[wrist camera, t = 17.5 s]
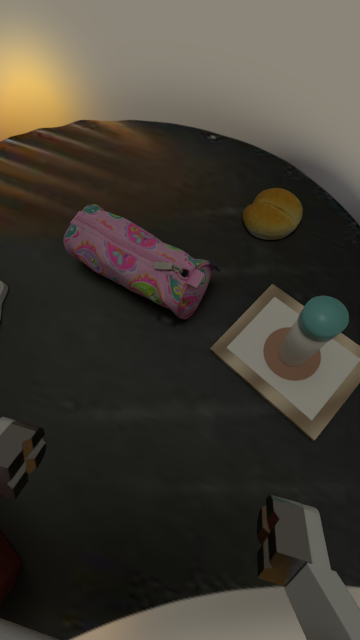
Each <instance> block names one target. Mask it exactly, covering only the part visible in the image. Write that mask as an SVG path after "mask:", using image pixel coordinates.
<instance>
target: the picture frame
mask: <svg viewBox="0 0 360 640" xmlns="http://www.w3.org/2000/svg"><path fill="white" fill-rule="evenodd" d="M303 308H304V306H303V305H301V304H300V303H299V302H297V301H296V300H294V299H293V298H292V297H290V296H289V295H287V294H286V293H284V292H283V291H282V290H280V289H279V288H277V287H276V286H275V285H273V284H272V285H271V286H270V287H269V288H268V289H267V290H266V291H265V292H264V293H263V294H262V295H261V296H260V297H259V298H258V299H257V300H256V301H255V303H254V304H253V305H252V306H251V307H250V308H249V309H248V310H247V311H246V312H245V313H244V314H243V315H242V316H241V317H240V318H239V319H238V320H237V321H236V322H235V323H234V324H233V325H232V326H231V327H230V328H229V330H228V331H227V332H226V333H225V334H224V335H223V336H222V337H221V338H220V339H219V340H218V341H217V342H216V343H215V344H214V345H213V346H212V347H211V348H210V351H211V352H212V353H213V354H215V355H216V356H217V357H218V358H219V359H220V360H221V361H223V362H224V363H225V364H226V365H227V366H228V367H229V368H230V369H232V370H233V371H234V372H235V373H236V374H237V375H238V376H240V377H241V378H242V379H243V380H244V381H245V382H246V383H247V384H249V385H250V386H251V387H252V388H253V389H254V390H255V391H256V392H258V393H259V394H260V395H261V396H262V397H263V398H264V399H266V400H267V401H268V402H269V403H270V404H271V405H272V406H273V407H275V408H276V409H277V410H278V411H279V412H280V413H281V414H283V415H284V416H285V417H286V418H287V419H288V420H289V421H290V422H292V423H293V424H294V425H295V426H296V427H297V428H298V429H299V430H301V431H302V432H303V433H304V434H305V435H306V436H307V437H309V438H310V439H311V440H315V439H316V438H317V437H318V435H319V434H320V433H321V432H322V430H323V429H324V428H325V426H326V425H327V424H328V423H329V421H330V420H331V419H332V418H333V416H334V415H335V414H336V412H337V411H338V410H339V409H340V407H341V406H342V405H343V403H344V402H345V401H346V400H347V398H348V397H349V396H350V394H351V393H352V392H353V391H354V389H355V388H356V387H357V386H358V384H359V383H360V346H359V345H357V344H356V343H355V342H353V341H352V340H350V339H349V338H348V337H346V336H345V335H343V334H342V333H339V334H338V335H337V336H336V337H335V338H333V339H332V340H330V341H328V342H327V343H326V344H325V345H324V346H323V347H322V348H320V349H319V350H318V351H317V352H316V353H315V354H313V355H312V356H311V357H310V358H309V359H308V360H307V361H305V362H304V363H303V364H302V365H300V366H298V367H290V366H287V365H285V364H283V363H282V362H281V361H280V359H279V357H278V354H277V349H278V346H279V345H280V343H281V342H282V340H283V339H284V338H285V336H286V335H287V333H288V332H289V330H290V329H291V327H292V326H293V325H294V323H295V322H296V320H297V319H298V317H299V314H300V313H301V311H302V310H303Z"/></svg>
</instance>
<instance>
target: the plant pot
mask: <svg viewBox="0 0 360 640" xmlns="http://www.w3.org/2000/svg"><path fill="white" fill-rule="evenodd" d="M21 570H22V562H21V559H20V558H19V556H18V555H17V553H16V552H15V551H14V549H13V548H12V546H11V545H10V544H9V542H8V541H7V539H6V538H5V536H4V535H3V534H2V532H1V531H0V605H1V603H2V602H3V601H4V599H5V598H6V597H7V595H8V594H9V592H10V591H11V589H12V588H13V586H14V585H15V583H16V581H17V579H18V577H19V575H20V573H21Z"/></svg>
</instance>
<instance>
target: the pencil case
mask: <svg viewBox="0 0 360 640" xmlns="http://www.w3.org/2000/svg"><path fill="white" fill-rule="evenodd" d="M63 241H64V246H65V249H66V251H67V252H68V254H69V255H70V256H72V257H73V258H75V259H77V260H79V261H82V262H83V263H84V264H86V265H87V266H88V267H89V268H90V269H92V270H93V271H94V272H96V273H98V274H100V275H102V276H104V277H106V278H108V279H110V280H112V281H114V282H116V283H117V284H120V285H122V286H123V287H125V288H127V289H129V290H130V291H132V292H134V293H137V294H139V295H141V296H143V297H146V298H148V299H150V300H151V301H153V302H154V303H156V304H158V305H161V306H163V307H165V308H167V309H170V310H172V312H173V313H174V314H175V315H176V316H177V317H178V318H180V319H188V318H189V317H190V316H192V314H193V313H194V312H195V310H196V309H197V307H198V306H199V303H200V301H201V299H202V297H203V295H204V293H205V291H206V289H207V287H208V284H209V281H210V277H211V274H212V270H213V267H214V269H216V270H217V271H220V269H219V268H218V266H216V265H214V264H213V263H211V262H209V261H206V260H203V259H193V258H192V257H191V256H190V255H188V254H187V253H185V252H184V251H182V250H180V249H179V248H176V247H174V246H171V245H168V244H165V243H163V242H162V241H160V240H159V239H157V238H156V237H154V236H153V235H152V234H150V233H148V232H147V231H146V230H144V229H142V228H141V227H139V226H137V225H135V224H134V223H132V222H130V221H129V220H127V219H124V218H122V217H120V216H117V215H114V214H112V213H109V212H106V211H104V210H103V209H102V208H101V207H100V206H98V205H95V204H92V205H88V206H86V207H85V208H84V209H83V210H82V211H79V212H78V213H77V215H76V216H75V217H74V219H73V220H72V221H71V222H70V226H69V228H68V229H67V231H66V233H65V235H64V240H63Z"/></svg>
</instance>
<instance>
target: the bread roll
mask: <svg viewBox="0 0 360 640" xmlns="http://www.w3.org/2000/svg"><path fill="white" fill-rule="evenodd" d="M302 212H303V210H302V205H301V202H300V201H299V200H298V198H297V197H296V196H295V195H293V194H292V193H291V192H289V191H287V190H284V189H280V188H272V189H267V190H264V191H262V192H261V193H260V194H258V196H257V197H256V198H255V200H254V202H253V204H251V205H249V206H248V207H247V208H246V209H245V210H244V212H243V221H244V223H245V226H246V227H247V229H248V231H249V232H250V233H251V234H252V235H253V236H255V237H257V238H260V239H264V240H275V239H281V238H284V237H286V236H288V235H289V234H291V233H292V232H293V231H294V230H295V229H296V227H297V225H298V224H299V223H300V221H301V218H302Z"/></svg>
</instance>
